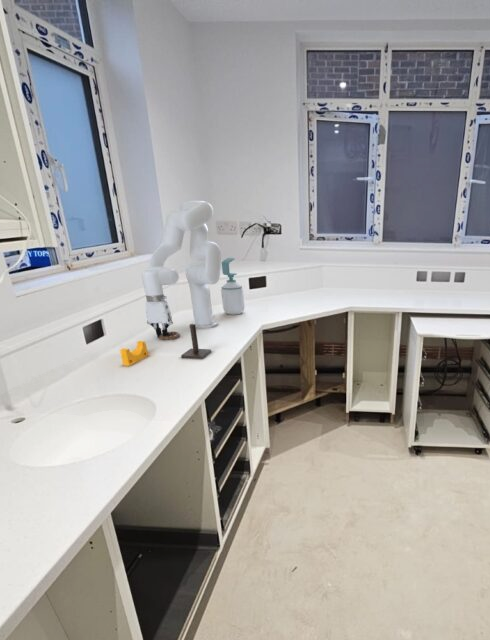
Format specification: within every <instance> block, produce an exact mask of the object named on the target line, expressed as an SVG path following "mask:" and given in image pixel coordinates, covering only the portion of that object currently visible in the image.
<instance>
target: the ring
mask: <svg viewBox="0 0 490 640" xmlns="http://www.w3.org/2000/svg"><path fill="white" fill-rule="evenodd" d="M180 336H181V334H180V332H177V331H168V336H163V334H160V335H159V338H158V339H159V340H161V341H173V340H176V339H179V338H180Z"/></svg>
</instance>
